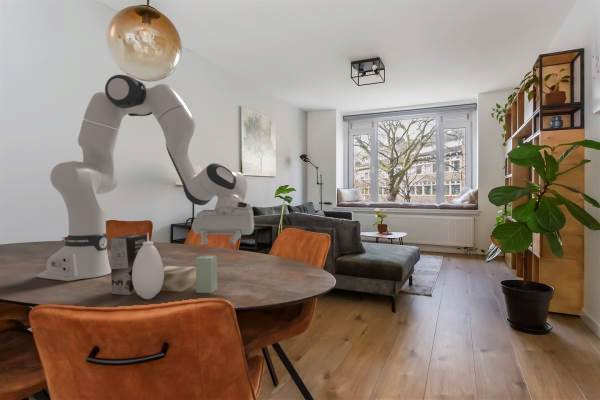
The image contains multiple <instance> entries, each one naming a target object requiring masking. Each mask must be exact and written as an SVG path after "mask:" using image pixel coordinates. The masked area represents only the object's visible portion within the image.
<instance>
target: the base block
mask: <svg viewBox="0 0 600 400" xmlns="http://www.w3.org/2000/svg"><path fill="white" fill-rule="evenodd" d="M163 268H164V281H163V285H162V288H161V290H160V292H161V291H163V292H183V291H185V290H187V289H188V288H190V287H191V286H193V285H196V266H175V265H166V266H163Z"/></svg>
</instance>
